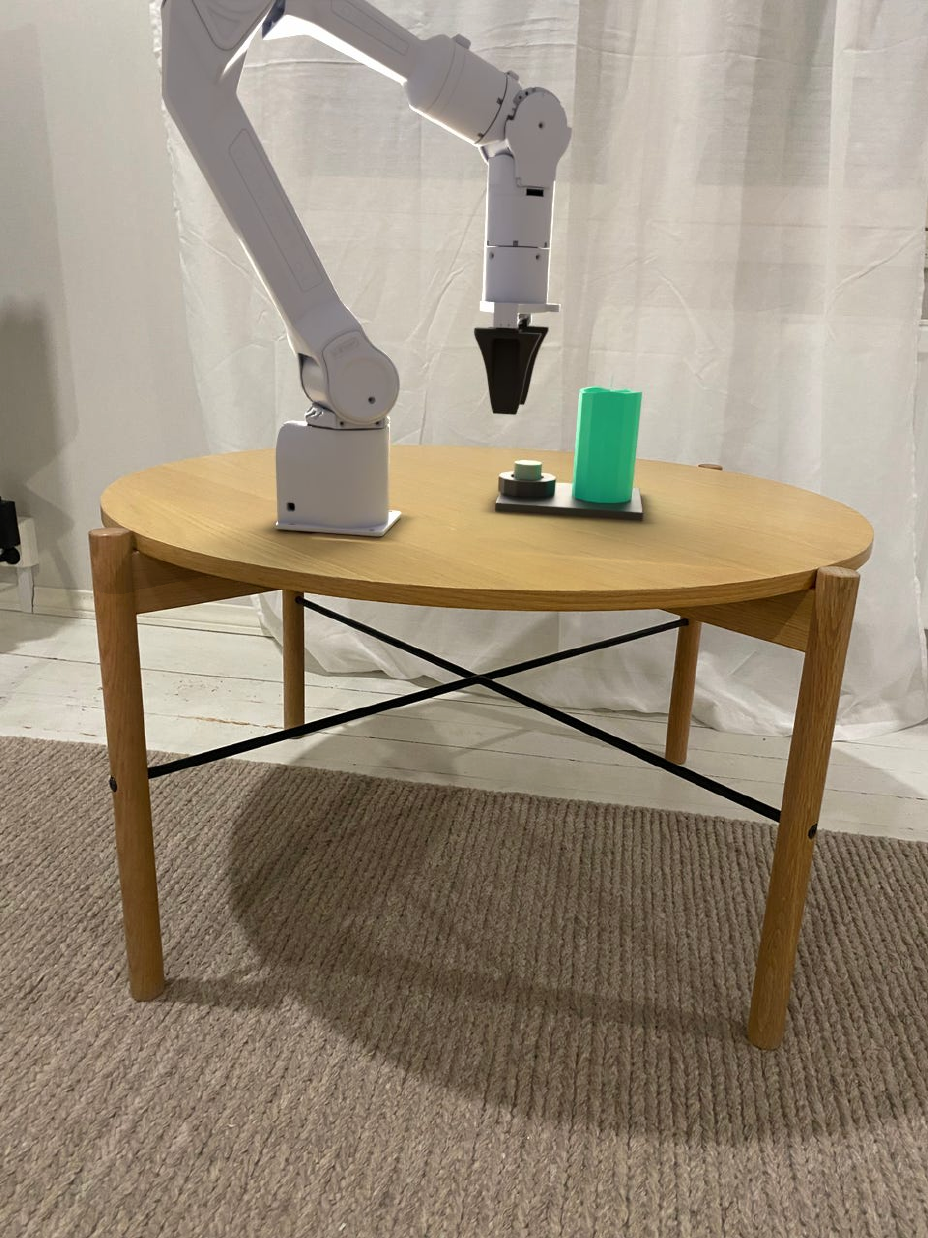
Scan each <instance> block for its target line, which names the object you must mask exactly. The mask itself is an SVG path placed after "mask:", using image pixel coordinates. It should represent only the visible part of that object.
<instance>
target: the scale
mask: <svg viewBox="0 0 928 1238" xmlns="http://www.w3.org/2000/svg"><path fill="white" fill-rule="evenodd" d="M497 484H498V485H497V492H498V493H500V494H499V496H498V497H497V499H496V501H495V503H494V504H495V505H494V511H495V512H507V513H517V514H518V513H521V514H534V515H549V516H561V517H562V516H563V517H577V518H592V519H606V520H607V519H608V520H620V521H621V520H622V521H635V522H643V520H644V519H643V518H644V511H643V504H642V495H641V488H640V487H634V486H633V491H632V499H631V500H629V501H627V502H620V503H598V502H590V501H584V500H581V499H577V498H574V497H573V495H572V484H573V482H557V476H555V475H553V474H551V473H547V472H542V475H541V479H535V480H529V479H518V478H514V470H509V471H505V472H500V473H499V475H498V482H497Z"/></svg>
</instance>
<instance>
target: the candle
mask: <svg viewBox="0 0 928 1238" xmlns="http://www.w3.org/2000/svg"><path fill="white" fill-rule="evenodd" d="M610 374H611V375H610V386H609V388H605V387H601V386H588V387H583V388H580V389H579V390H578V391H579V392H578V407H577V417H576V432H575V445H574V446H575V447H574V460H573V472H572V483H573V484H572V495H573V497H574V498H577V499H581V500H584V501H590V502H598V503H620V502H627V501H629V500H631V499H632V491H633V487H634V481H635V469H636V460H637V449H638V439H639V431H640V430H639V429H640V417H641V407H642V399H643V391H634V390H631V389H629V388H621V389H619V388H618V389H612V388H613V377H614V373H610Z"/></svg>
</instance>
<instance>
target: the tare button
mask: <svg viewBox="0 0 928 1238" xmlns="http://www.w3.org/2000/svg"><path fill="white" fill-rule="evenodd" d="M513 471H514V478H518V479H529V480H535V479H541V475H542V473H543V463H542V462H541V461H537V460H532V459H531V460H530V459H525V460H524V459H521V460H515V461H514V462H513Z"/></svg>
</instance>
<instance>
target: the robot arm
mask: <svg viewBox="0 0 928 1238" xmlns="http://www.w3.org/2000/svg"><path fill="white" fill-rule="evenodd" d="M159 10H160V17H161V18H160V20H161V96H162V100H163V103H164V105H165V108H166V110H167V113H168V114H169V115H170V117H171V119H172V121H173V123H174V125H175V127H176V129H177V130H178V132H179V134H180V135H181V138H182V139H183V141H184V143H185V144H186V146H187V149H188V150H189V152H190V154H191V155H192V158H193V159H194V161H195V163H196V165H197V167H198V169H199V170H200V172H201V174H202V176H203V178H204V179H205V181H206V183H207V185H208V186H209V188H210V191H211V192H212V194H213V196H214V198H215V200H216V201H217V203H218V205H219V207H220V208H221V209H220V210H221V211H222V212H223V215H224V216H225V218H226V220H227V221H228V223H229V225H230V228H231V229H232V231H233V233H234V234H235V236H236V237H237V240H238V241H239V243H240V245H241V247H242V249H243V250H244V252H245V255H246V257H247V258H248V260H249V261H250V264H251V265H252V267H253V269H254V271H255V273H256V274H257V277H258V278H259V280H260V282H261V283H262V285H263V286H264V289H265V291H266V293H267V294H268V296H269V298H270V300H271V301H272V303H273V305H274V307H275V309H276V311H277V313H278V315H279V316H280V318H281V321H282V322H283V323H284V326H285V331H286V336H287V341H288V344H289V347H290V348H291V350H292V352H293V355H294V356H295V358H296V361H297V367H298V368H297V369H298V381H299V385H300V388H301V391H302V393H303V394H304V396H305V397H306V398H307V400H308V401H309V402H310V403H311V404H310V405H309V407H308V409H307V411H306V412H305V414H304V421H303V420H301V421H300V420H288V421H286V422H284V423H283V424H282V425H281V427H280V429H279V431H278V434H277V437H276V438H277V440H276V444H275V445H276V446H275V481H276V482H275V484H276V485H275V487H276V511H277V513H276V514H277V521H276V522H275V523H274V528H275V529H276V530H285V531H297V532H298V531H299V532H310V533H311V532H312V533H325V534H338V535H339V534H340V535H351V536H366V537H383V536H384V535H385V534H386V533H387V532H388V531H389V529H391V527H392V526H394V525H395V523H397V521H398V520H399V519H401V517H402V512H401V511H399V510H390V484H391V483H390V482H391V481H390V480H391V479H390V477H391V474H390V472H391V471H390V469H391V467H390V466H391V464H390V463H391V461H390V460H391V425H390V424H391V417H390V416H388V414H390V412H392V410H393V408H394V407H395V405H396V402H397V401H398V398H399V395H400V389H401V388H400V386H401V384H400V383H401V380H400V374H399V372H398V368H397V366H396V363H394V361H393V360H392V358H391V357H390V356H389V355H388V354H387V353H386V352H385V351H383V350H382V349H381V348H379V347H378V346H377V345H375V343H373V341H372V340H371V339H370V338H369V336H368V334H367V333H366V331H365V329H364V327H363V325H362V324H361V322H360V321H359V320H358V318H357V317H356V316H355V315H354V314H353V312H352V311H351V310H350V309H349V307H348V306H347V305H346V304H345V303H344V302H343V300H342V299H341V297H340V295H339V293H338V291H337V290H336V287H335V286H334V283H333V281H332V280H331V278H330V275H329V274H328V271H327V270H326V267H325V266H324V264H323V262H322V260H321V258H320V256H319V254H318V252H317V251H316V248H315V246H314V244H313V242H312V241H311V238H310V237H309V234H308V232H307V230H306V228H305V227H304V225H303V222H302V220H301V219H300V216H299V215H298V212H297V211H296V209H295V207H294V205H293V203H292V201H291V199H290V197H289V195H288V193H287V191H286V189H285V187H284V185H283V183H282V182H281V180H280V178H279V175H278V173H277V171H276V169H275V168H274V166H273V163H272V162H271V160H270V158H269V155H268V154H267V151H266V150H265V148H264V146H263V144H262V142H261V140H260V138H259V136H258V135H257V132H256V130H255V128H254V127H253V124H252V123H251V121H250V118H249V117H248V114H247V113H246V111H245V109H244V107H243V105H242V103H241V100H240V99H239V96H238V89H239V86H240V85H239V84H240V81H241V78H242V74H243V70H244V67H245V64H246V60H247V56H248V53H249V45H250V43H251V41H252V39H253V38H254V36H255V35H256V33H257V32H258V30H259V29H260V27H261V39H262V41H268V40H274V39H280V38H286V37H294V36H299V35H308V36H309V37H312V38H314V39H316V40H318V41H320V42H321V43H324V44H325V45H328V46H329V47H331V48H333V49H335V50H337V51H338V52H341V53H342V54H344V55H346V56H348V57H350V58H352V59H354V60H356V61H358V62H360V63H361V64H363V65H365V66H367V67H369V68H371V69H372V70H375V71H377V72H378V73H380V74H383V75H384V76H386V77H388V78H390V79H392V80H394V81H395V82H398V83H399V84H400V85H401V87H402V90H403V92H404V94H405V98H406V101H407V103H408V105H409V108H410V109H411V110H413V111H414V112H416V113H418V114H419V115H420V116H423V117H424V118H426V119H428V120H429V121H431V122H433V123H435V124H436V125H438V126H441V127H442V128H443V129H445V130H447V131H448V132H450V133H452V134H454V135H456V136H457V137H459V138H461V139H463V140H464V141H466V142H468V143H470V144H471V145H473V146H474V147H477V149H478V151H479V154H480V155H481V157H482V159H483V161H484V163H486V165H487V166H488V167H487V187H486V207H485V228H484V229H485V231H484V253H483V279H482V280H483V282H482V286H483V287H482V300H480V301H479V311H481V312H486V313H492V315H493V316H492V326H488V327H480V326H477V327H474V328H473V337H474V338H475V341H476V343H477V345H478V347H479V351H480V353H481V356H482V359H483V362H484V367H485V372H486V378H487V380H486V381H487V386H488V394H489V401H490V407H491V411H492V414H494V415H496V414H497V415H511V416H512V415H513V416H516V415H517V414H518V411H519V408H520V406H525V403H526V401H527V398H528V394H529V391H530V390H529V389H530V387H531V381H532V376H533V374H534V373H533V372H534V368H535V364H536V360H537V358H538V354H539V352H540V349H541V347H542V345H543V342H544V340H545V339H546V337H547V335H548V333H549V331H550V328H549V326H547V325H530V324H532V323H533V322H532V321H533V315H534V314H539V315H540V314H544V315H545V314H550V313H560V312H561V303H548V301H549V300H548V299H549V284H550V283H549V282H550V266H551V265H550V264H551V252H552V251H551V250H552V249H551V248H552V235H553V217H554V205H555V204H554V201H555V187H556V186H555V185H556V181H557V169H558V164H559V163H560V160H561V158H562V157H563V156H564V155H565V153H566V152H567V150H568V148H569V146H570V144H571V140H572V136H573V128H572V127H570V126H569V125H568V119H567V113H566V111H565V108H564V107H563V106H562V103H561V101H560V100H559V98H558V97H557V96H556V95H555V94H554V93H553V92H552V91H550V90H548V89H547V88H544V87H540V86H534V87H531V86H530V87H526V88H524V89H523V86H522V83H521V81H520V79H521V77H520V74H518V73H516V72H515V71H513V70H511V69H510V70H507V71H505V72H504V71H503V70H501V69H499V68H498V67H497V66H495V65H494V64H491V63H490V62H489V61H487V60H486V59H484V58H483V57H481V56H479V55H478V54H476V53H475V52H473V51H471V50H470V48H471V46H472V41H471V40H470V39H468V38H467V37H465V36H464V35H463V34H461V33H458V34H456V35H454V36H452V37H450V36H448V35H446V34H444V33H441V34H439V33H438V34H436V35H434V36H431V37H429V38H427V39H421V38H419V37H418V36H417V35H415V34H413V33H412V32H411V31H409V30H408V29H407V28H405V27H404V26H402V25H401V24H400V23H398V22H397V21H395V19H392V18H391V17H389V16H388V15H386V14H385V13H384V12H382V10H380V9H378V8H377V7H376V6H374V5H372V4H371V3H370V2H368V1H367V0H162V1H161V3H160V8H159Z"/></svg>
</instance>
